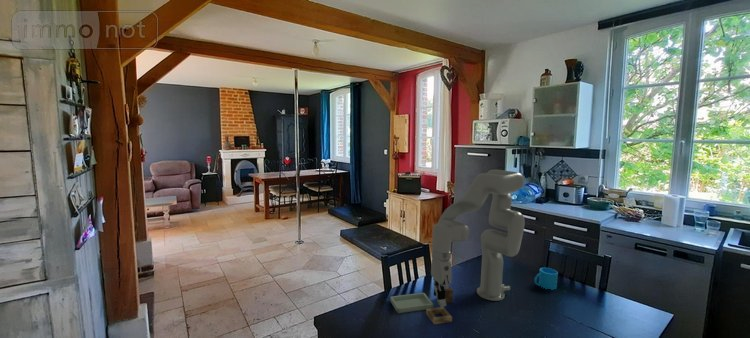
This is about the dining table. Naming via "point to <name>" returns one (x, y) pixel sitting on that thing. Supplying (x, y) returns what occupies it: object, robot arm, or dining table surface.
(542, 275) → the mug
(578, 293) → the dining table surface
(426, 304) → the tray
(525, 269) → the dining table surface
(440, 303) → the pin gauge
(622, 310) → the dining table surface
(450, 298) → the walnut block
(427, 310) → the square wooden frame
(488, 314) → the dining table surface
